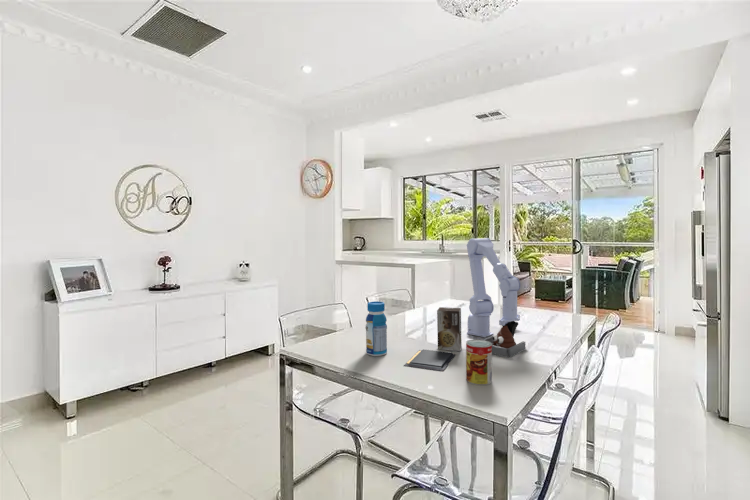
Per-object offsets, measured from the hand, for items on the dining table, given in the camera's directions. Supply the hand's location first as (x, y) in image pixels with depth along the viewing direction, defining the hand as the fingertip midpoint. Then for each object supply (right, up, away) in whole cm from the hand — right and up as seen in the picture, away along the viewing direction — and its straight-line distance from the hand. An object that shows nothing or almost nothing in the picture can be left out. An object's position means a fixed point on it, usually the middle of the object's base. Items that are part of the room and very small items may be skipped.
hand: (509, 339), depth 158 cm
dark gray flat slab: (-35, -5, -17) cm, 39 cm away
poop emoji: (-3, -3, -4) cm, 6 cm away
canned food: (-23, -5, -36) cm, 43 cm away
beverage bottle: (-55, -4, -8) cm, 56 cm away
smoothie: (+10, -1, +31) cm, 33 cm away
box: (-5, -3, -5) cm, 8 cm away
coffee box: (-25, -3, -2) cm, 26 cm away
